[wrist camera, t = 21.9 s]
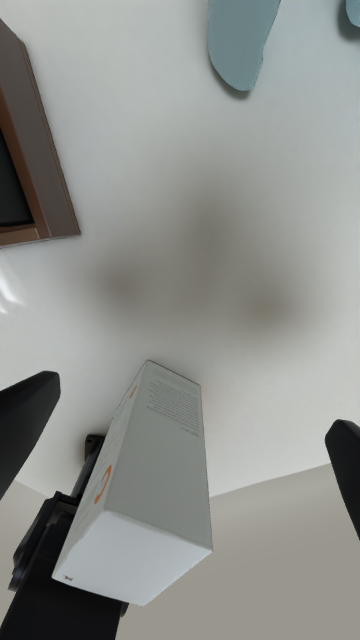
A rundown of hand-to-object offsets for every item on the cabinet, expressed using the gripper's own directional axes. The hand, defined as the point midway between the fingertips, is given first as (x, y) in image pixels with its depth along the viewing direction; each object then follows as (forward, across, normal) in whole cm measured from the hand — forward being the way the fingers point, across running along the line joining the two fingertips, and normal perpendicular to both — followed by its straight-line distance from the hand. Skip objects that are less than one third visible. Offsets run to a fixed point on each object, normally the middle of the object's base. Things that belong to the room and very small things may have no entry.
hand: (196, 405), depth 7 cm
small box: (+13, +2, +13) cm, 18 cm away
